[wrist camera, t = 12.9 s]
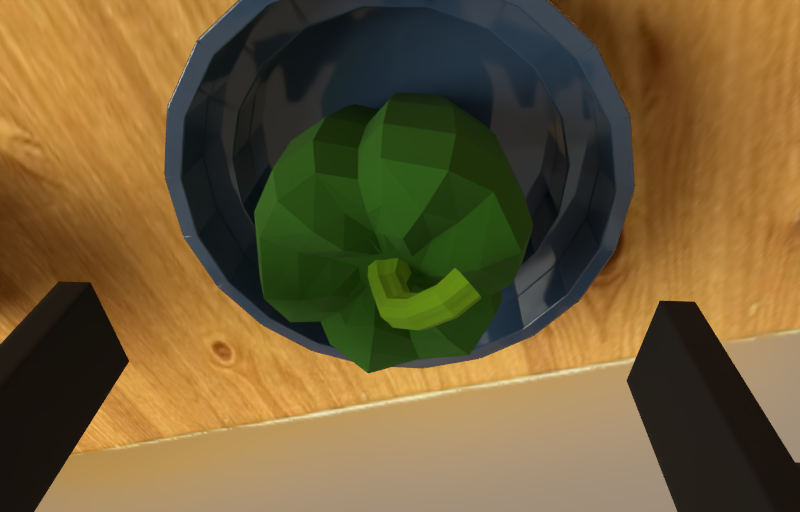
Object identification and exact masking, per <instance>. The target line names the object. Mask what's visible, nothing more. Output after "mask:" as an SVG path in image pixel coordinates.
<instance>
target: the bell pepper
mask: <svg viewBox="0 0 800 512" xmlns="http://www.w3.org/2000/svg"><path fill="white" fill-rule="evenodd" d="M254 216H255V228H256V239H257V250H258V262H259V273H260V280H261V286H262V291H263V296H264V299H265V300H266V301H267V302H268V303H269V304H270V305H272V306H273V307H274V308H275V309H276V310H277V311H278V312H279V313H281V314H282V315H283V316H284V317H285V318H286V319H287V320H288V321H290V322H318V321H321V324H322V326H323V328H324V331H325V333H326V336H327V338H328V340H329V343H330V344H331V345H332V346H334V347H335V348H336V349H337V350H339V351H340V352H341V353H343V354H344V355H345V356H346V357H348V358H349V359H350V360H352V361H353V362H354V363H355V364H357V365H358V366H359V367H361V368H362V369H363V370H364V371H366V372H367V373H371V372H375V371H378V370H382V369H386V368H389V367H393V366H397V365H400V364H404V363H407V362H411V361H415V360H418V359H429V358H443V357H458V356H469V355H470V354H471V352H472V351H473V349H474V348H475V346H476V345H477V343H478V342H479V340H480V339H481V337H482V336H483V334H484V333H485V331H486V330H487V328H488V327H489V325H490V324H491V322H492V321H493V319H494V317H495V315H496V313H497V311H498V309H499V306H500V304H501V302H502V289H504V288H506V287H508V286H510V285H511V284H512V283H513V281H514V279H515V277H516V275H517V273H518V271H519V269H520V267H521V265H522V262H523V259H524V255H525V252H526V249H527V245H528V242H529V238H530V235H531V232H532V228H533V222H532V219H531V216H530V213H529V210H528V207H527V204H526V201H525V198H524V195H523V191H522V189H521V187H520V185H519V183H518V181H517V179H516V177H515V174H514V172H513V170H512V168H511V166H510V164H509V162H508V160H507V157H506V155H505V153H504V151H503V149H502V147H501V145H500V143H499V140H498V138H497V136H496V134H494V133H493V132H492V131H491V130H490V129H489V128H487V127H486V126H485V125H484V124H483V123H482V122H480V121H479V120H477V119H476V118H474V117H473V116H471V115H470V114H468V113H467V112H465V111H464V110H463V109H461V108H460V107H458V106H457V105H455V104H454V103H452V102H451V101H449V100H448V99H446V98H445V97H443V96H442V95H437V94H418V93H399V92H397V93H395V94H394V95H393V96H392V97H391V98H390V99H389V100H388V101H387V102H386V104H385V105H384V106H383V107H382V108H381V109H380V110H378V109H374V108H370V107H366V106H362V105H358V104H353V105H350V106H347V107H343V108H341V109H340V110H338V111H336V112H334V113H332V114H330V115H328V116H327V117H325V118H324V119H322V120H321V121H319V122H318V123H316V124H315V125H313V126H312V127H310V128H309V129H307V130H306V131H305V132H303V133H302V134H300V135H299V136H297V137H296V138H294V139H293V140H291V142H290V143H289V145H288V146H287V148H286V149H285V151H284V152H283V154H282V155H281V157H280V158H279V160H278V162H277V163H276V165H275V166H274V168H273V169H272V172H271V174H270V176H269V179H268V181H267V183H266V186H265V188H264V190H263V193H262V195H261V197H260V200H259V202H258V204H257V206H256V209H255V211H254Z"/></svg>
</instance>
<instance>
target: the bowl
mask: <svg viewBox="0 0 800 512" xmlns="http://www.w3.org/2000/svg"><path fill="white" fill-rule="evenodd" d="M397 92H399V93H418V94H437V95H442V96H443V97H445V98H446V99H448V100H449V101H451V102H452V103H454V104H455V105H457V106H458V107H460V108H461V109H463V110H464V111H465V112H467V113H468V114H470V115H471V116H473V117H474V118H476V119H477V120H479V121H480V122H482V123H483V124H484V125H485V126H486V127H487V128H489V129H490V130H491V131H492V132H493V133H494V134H496V136H497V138H498V140H499V143H500V145H501V147H502V149H503V151H504V153H505V155H506V157H507V160H508V162H509V164H510V166H511V168H512V170H513V172H514V174H515V177H516V179H517V181H518V183H519V185H520V187H521V189H522V191H523V195H524V198H525V201H526V204H527V207H528V210H529V213H530V216H531V219H532V222H533V228H532V232H531V235H530V238H529V242H528V245H527V249H526V252H525V255H524V259H523V262H522V265H521V267H520V269H519V271H518V273H517V275H516V277H515V279H514V281H513V283H512V284H511V285H510V286H508V287H506V288H504V289H502V302H501V304H500V306H499V309H498V311H497V313H496V315H495V317H494V319H493V321H492V322H491V324H490V325H489V327H488V328H487V330H486V331H485V333H484V334H483V336H482V337H481V339H480V340H479V342H478V343H477V345H476V346H475V348H474V349H473V351H472V352H471V354H470V355H469V356H458V357H443V358H429V359H418V360H415V361H411V362H407V363H404V364H400V365H397V366H393V367H405V368H429V367H434V366H440V365H446V364H452V363H457V362H463V361H469V360H475V359H479V358H483V357H485V356H487V355H490V354H492V353H494V352H497V351H499V350H501V349H504V348H506V347H509V346H511V345H513V344H516V343H518V342H520V341H523V340H525V339H527V338H530V337H532V336H534V335H535V334H537V333H538V332H539V331H540V330H542V329H543V328H544V327H546V326H547V325H548V324H550V323H551V322H552V321H553V320H555V319H556V318H557V317H559V316H560V315H561V314H563V313H564V312H565V311H566V310H568V309H569V308H570V307H572V306H573V305H574V304H576V303H577V302H578V301H579V299H581V297H582V296H583V295H584V293H585V292H586V291H587V289H588V288H589V286H590V285H591V284H592V282H593V281H594V280H595V278H596V277H597V275H598V274H599V273H600V271H601V270H602V268H603V267H604V266H605V264H606V263H607V262H608V260H609V259H610V257H611V256H612V255H613V253H614V252H615V249H616V247H617V244H618V241H619V237H620V234H621V231H622V228H623V224H624V221H625V218H626V215H627V211H628V208H629V205H630V202H631V199H632V195H633V192H634V187H635V179H634V164H633V148H632V132H631V118H630V114H629V112H628V110H627V108H626V106H625V104H624V102H623V99H622V97H621V95H620V93H619V91H618V89H617V87H616V85H615V83H614V81H613V79H612V76H611V74H610V72H609V70H608V68H607V66H606V64H605V62H604V60H603V58H602V56H601V53H600V51H599V49H598V47H597V46H596V45H595V44H594V42H593V41H592V40H591V39H590V38H589V37H588V36H587V35H586V34H585V33H584V32H583V31H582V30H581V29H580V28H579V27H577V26H576V25H575V24H574V23H573V22H572V21H571V20H570V19H569V18H568V17H567V16H566V15H565V14H564V13H563V12H561V11H560V10H559V9H558V8H557V7H556V6H555V5H554V4H553V3H552V2H551V1H550V0H238V1H237V2H236V3H235V4H234V5H233V6H232V7H231V8H230V9H229V10H227V11H226V12H225V13H224V14H223V15H222V16H221V17H220V18H219V19H218V20H217V21H216V22H215V23H214V24H213V25H212V26H211V27H210V28H209V29H207V30H206V31H205V32H204V33H203V34H202V35H201V36H200V37H199V39H198V40H197V41H196V43H195V45H194V47H193V50H192V52H191V54H190V57H189V59H188V61H187V63H186V66H185V68H184V70H183V72H182V75H181V77H180V79H179V81H178V84H177V86H176V88H175V90H174V93H173V95H172V97H171V99H170V102H169V104H168V109H167V122H166V147H165V172H164V174H165V180H166V183H167V186H168V189H169V193H170V196H171V199H172V202H173V205H174V209H175V212H176V215H177V218H178V222H179V225H180V228H181V231H182V234H183V236H184V239H185V240H186V241H187V243H188V244H189V246H190V247H191V249H192V250H193V252H194V253H195V255H196V256H197V258H198V259H199V260H200V262H201V263H202V265H203V266H204V268H205V269H206V271H207V272H208V274H209V275H210V277H211V278H212V280H213V281H214V282H215V284H216V285H217V286H218V287H219V289H221V290H222V291H223V292H224V293H225V294H226V295H228V296H229V297H230V298H231V299H232V300H233V301H235V302H236V303H237V304H238V305H239V306H240V307H242V308H243V309H244V310H245V311H246V312H247V313H249V314H250V315H251V316H252V317H253V318H254V319H256V320H257V321H258V322H259V323H260V324H263V326H265V327H267V328H268V329H270V330H272V331H274V332H276V333H278V334H280V335H282V336H284V337H286V338H288V339H290V340H292V341H294V342H296V343H298V344H300V345H301V346H303V347H305V348H307V349H309V350H311V351H313V350H314V352H318V353H321V354H325V355H329V356H333V357H337V358H340V359H344V360H348V361H352V360H350V359H349V358H348V357H346V356H345V355H344V354H343V353H341V352H340V351H339V350H337V349H336V348H335V347H334V346H332V345H331V344H330V343H329V340H328V338H327V336H326V333H325V331H324V328H323V326H322V324H321V321H318V322H290V321H288V320H287V319H286V318H285V317H284V316H283V315H282V314H281V313H279V312H278V311H277V310H276V309H275V308H274V307H273V306H272V305H270V304H269V303H268V302H267V301H266V300H265V299H264V296H263V291H262V286H261V280H260V273H259V262H258V250H257V239H256V228H255V216H254V211H255V209H256V206H257V204H258V202H259V200H260V197H261V195H262V193H263V190H264V188H265V186H266V183H267V181H268V179H269V176H270V174H271V172H272V169H273V168H274V166H275V165H276V163H277V162H278V160H279V158H280V157H281V155H282V154H283V152H284V151H285V149H286V148H287V146H288V145H289V143H290V142H291V140H293V139H294V138H296V137H297V136H299V135H300V134H302V133H303V132H305V131H306V130H307V129H309V128H310V127H312V126H313V125H315V124H316V123H318V122H319V121H321V120H322V119H324V118H325V117H327V116H328V115H330V114H332V113H334V112H336V111H338V110H340V109H341V108H343V107H347V106H350V105H353V104H358V105H362V106H366V107H370V108H374V109H378V110H380V109H381V108H382V107H383V106H384V105H385V104H386V102H387V101H388V100H389V99H390V98H391V97H392V96H393V95H394V94H395V93H397ZM352 362H353V361H352Z"/></svg>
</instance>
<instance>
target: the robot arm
mask: <svg viewBox="0 0 800 512" xmlns="http://www.w3.org/2000/svg"><path fill="white" fill-rule="evenodd" d="M128 362H129V360H128V358H127V356H126V354H125V352H124V350H123V348H122V346H121V344H120V341H119V339H118V337H117V335H116V333H115V331H114V329H113V327H112V325H111V323H110V321H109V319H108V317H107V315H106V313H105V311H104V309H103V307H102V305H101V303H100V301H99V299H98V297H97V295H96V293H95V291H94V289H93V287H92V285H91V283H90V282H58V283H57V284H56V285H55V286H54V287H53V288H52V290H51V291H50V292H49V293H48V294H47V295H46V296H45V297H44V298H43V299H42V300H41V301H40V302H39V303H38V305H37V306H36V307H35V308H34V309H33V310H32V311H31V312H30V313H29V314H28V315H27V316H26V317H25V319H24V320H23V321H22V322H21V323H20V324H19V325H18V326H17V327H16V328H15V329H14V330H13V331H12V332H11V334H10V335H9V336H8V337H7V338H6V339H5V340H4V341H3V342H2V343H1V344H0V512H34V511H35V509H36V508H37V506H38V505H39V503H40V502H41V500H42V498H43V497H44V495H45V494H46V492H47V490H48V489H49V487H50V486H51V484H52V483H53V481H54V479H55V478H56V476H57V475H58V473H59V472H60V470H61V468H62V467H63V465H64V464H65V462H66V460H67V459H68V457H69V456H70V454H71V453H72V451H73V449H74V448H75V446H76V445H77V443H78V441H79V440H80V438H81V437H82V435H83V434H84V432H85V430H86V429H87V427H88V426H89V424H90V422H91V421H92V419H93V418H94V416H95V415H96V413H97V411H98V410H99V408H100V407H101V405H102V403H103V402H104V400H105V399H106V397H107V396H108V394H109V392H110V391H111V389H112V388H113V386H114V384H115V383H116V381H117V380H118V378H119V376H120V375H121V373H122V372H123V370H124V369H125V367H126V365H127V364H128ZM627 383H628V385H629V388H630V390H631V393H632V396H633V398H634V401H635V403H636V406H637V408H638V411H639V413H640V416H641V419H642V421H643V424H644V426H645V429H646V432H647V434H648V437H649V439H650V442H651V445H652V447H653V450H654V452H655V455H656V457H657V460H658V463H659V465H660V468H661V470H662V473H663V475H664V478H665V481H666V483H667V486H668V488H669V491H670V493H671V496H672V499H673V501H674V504H675V506H676V509H677V511H678V512H800V463H795V462H794V460H793V459H792V457H791V455H790V454H789V452H788V451H787V449H786V447H785V446H784V444H783V443H782V441H781V439H780V438H779V436H778V435H777V433H776V431H775V430H774V428H773V427H772V425H771V423H770V422H769V420H768V418H767V417H766V415H765V414H764V412H763V410H762V409H761V407H760V406H759V404H758V402H757V401H756V399H755V397H754V396H753V394H752V393H751V391H750V389H749V388H748V386H747V385H746V383H745V382H744V380H743V378H742V377H741V375H740V373H739V372H738V370H737V369H736V367H735V365H734V364H733V362H732V361H731V359H730V357H729V356H728V354H727V352H726V351H725V349H724V348H723V346H722V344H721V343H720V341H719V340H718V338H717V336H716V335H715V333H714V332H713V330H712V328H711V327H710V325H709V324H708V322H707V320H706V319H705V317H704V315H703V314H702V312H701V311H700V309H699V307H698V306H697V304H696V303H695V302H685V301H660V302H659V304H658V307H657V309H656V311H655V314H654V316H653V319H652V321H651V323H650V326H649V328H648V331H647V333H646V335H645V338H644V340H643V343H642V345H641V347H640V350H639V352H638V355H637V357H636V359H635V362H634V364H633V367H632V369H631V371H630V374H629V376H628V379H627Z"/></svg>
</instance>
